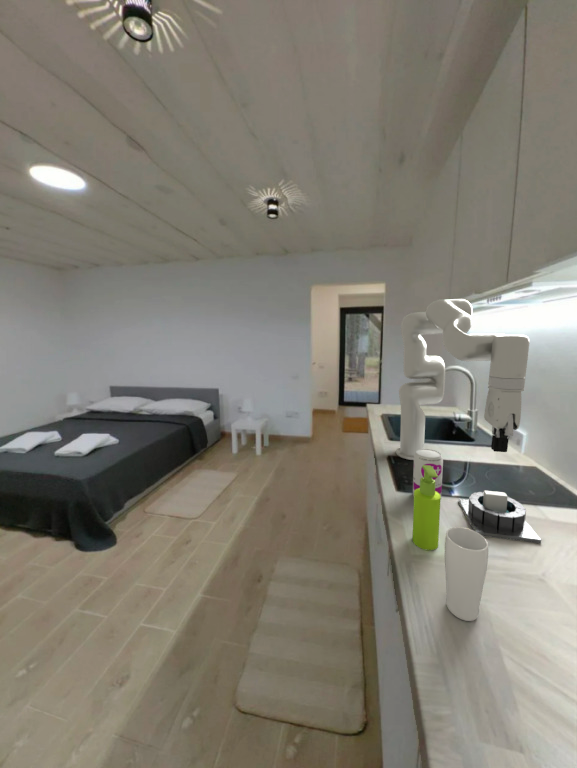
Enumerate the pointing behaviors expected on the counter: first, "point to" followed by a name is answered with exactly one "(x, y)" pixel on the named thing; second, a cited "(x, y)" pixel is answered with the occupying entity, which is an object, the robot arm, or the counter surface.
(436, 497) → the soap dispenser
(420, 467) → the supplement can
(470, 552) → the drinking glass
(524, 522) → the segmented ring on plate
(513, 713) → the counter surface
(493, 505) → the cap
